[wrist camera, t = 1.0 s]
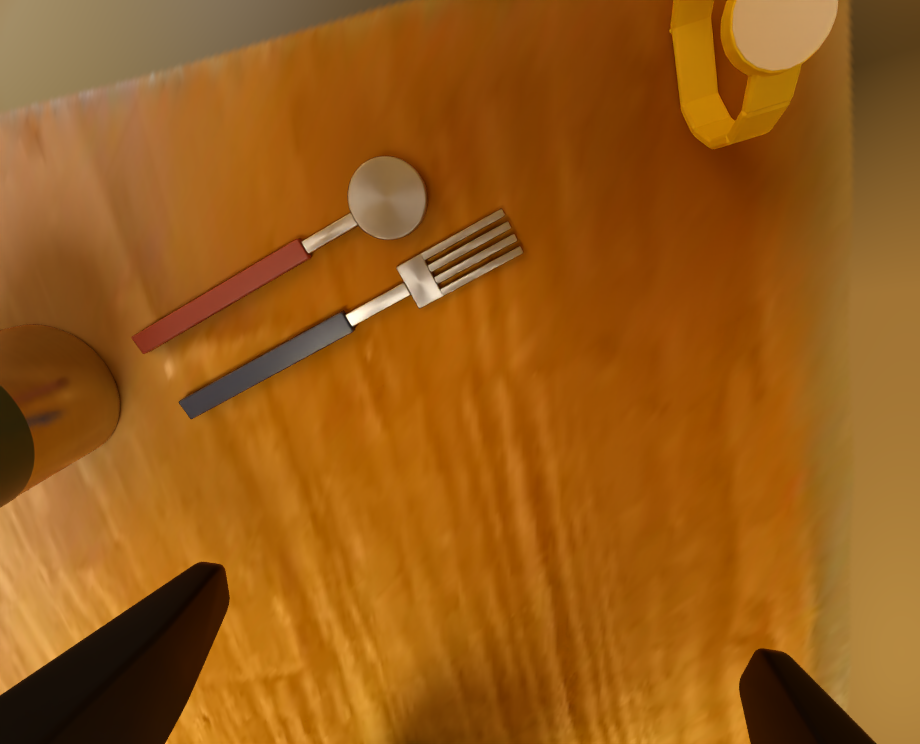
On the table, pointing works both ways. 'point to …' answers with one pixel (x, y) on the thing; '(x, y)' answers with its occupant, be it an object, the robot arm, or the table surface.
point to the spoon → (313, 242)
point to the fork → (363, 312)
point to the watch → (744, 61)
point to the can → (49, 405)
